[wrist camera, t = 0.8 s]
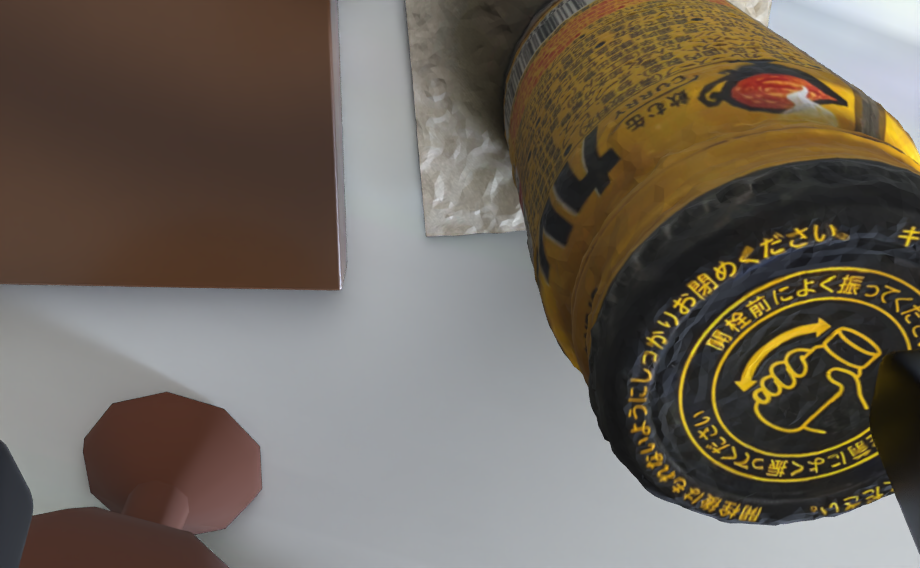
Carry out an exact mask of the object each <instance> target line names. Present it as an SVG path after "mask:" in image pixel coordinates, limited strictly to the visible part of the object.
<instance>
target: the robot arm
mask: <svg viewBox="0 0 920 568" xmlns="http://www.w3.org/2000/svg"><path fill="white" fill-rule="evenodd" d="M869 427H870V432H871V436H872V439H873V442H874V444H875V447H876V449H877V451H878V454H879V456H880V459H881V461H882V464H883V466H884V469H885V471H886V473H887V476H888V478H889V481H890V483H891V486H892V488H893V491H894V493H895V495H896V498H897V500H898V503H899V505H900V508H901V510H902V513H903V515H904V517H905V520H906V522H907V525H908V527H909V530H910V532H911V535H912V537H913V540H914V542H915V544H916V547H917V549H918V552H919V554H920V349H913V350H903V351H893V352H890V353H888V354H886V355H885V356H884V357H883V359H882V360H881V363H880V366H879V370H878V375H877V379H876V384H875V389H874V394H873V398H872V403H871V408H870V413H869ZM32 515H33V500H32V495H31V492H30V490H29V488H28V486H27V484H26V482H25V480H24V478H23V476H22V474H21V472H20V470H19V468H18V467H17V465H16V463H15V461H14V459H13V457H12V455H11V453H10V451H9V449H8V447H7V446H6V444H5V443H3V442H2V441H1V440H0V568H19V564H20V561H21V557H22V553H23V550H24V546H25V542H26V538H27V535H28V531H29V527H30V524H31V520H32Z"/></svg>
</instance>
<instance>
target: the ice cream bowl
mask: <svg viewBox="0 0 920 568" xmlns="http://www.w3.org/2000/svg"><path fill="white" fill-rule="evenodd" d="M83 454H84V460H85V465H86V471H87V476H88V481H89V487H90V492H91V493H92V494H93V495H94V496H95V497H96V498H97V499H98V500H100V501H101V502H102V503H103V504H104V505H105V506H106V507H107V508H109V509H110V510H111V511H109V510H105V509H101V508H98V507H85V508H71V509H64V510H59V511H54V512H49V513H44V514H39V515H34V516H32V520H31V524H30V527H29V531H28V535H27V538H26V542H25V546H24V550H23V553H22V557H21V561H20V564H19V568H229V567H228V566H227V565H226V564H225V563H224V562H223V561H221V560H220V559H219V558H218V557H217V556H216V555H215V554H214V553H213V552H212V551H211V550H210V549H208V548H207V547H206V546H205V545H204V544H203V543H202V542H201V541H200V540H199V539H198V538H197V537H195V536H194V535H195V534H200V533H205V532H211V531H216V530H221V529H225V528H226V527H227V526H228V525H229V524H230V523H231V522H232V521H233V520H234V519H235V518H236V517H237V516H238V515H239V514H240V513H241V512H242V511H243V510H244V509H245V508H246V507H247V506H248V504H249V503H250V502H251V501H252V500H253V499H254V498H255V497H256V495H257V494H258V493H259V492H260V490H261V489H262V479H261V459H260V446H259V445H258V444H257V443H256V442H255V441H254V440H253V439H252V438H251V437H250V436H249V435H248V434H247V433H246V432H245V430H244V429H243V428H242V427H241V426H240V425H239V424H238V423H237V422H236V421H235V420H234V419H233V418H232V417H231V416H230V415H229V414H228V413H227V412H226V411H225V410H224V409H222V408H219V407H216V406H212V405H209V404H206V403H202V402H199V401H196V400H192V399H189V398H185V397H182V396H179V395H175V394H172V393H169V392H164V393H159V394H155V395H150V396H145V397H141V398H136V399H131V400H127V401H122V402H117V403H113V404H112V405H111V406H110V407H109V408H108V410H107V411H106V412H105V413H104V415H103V416H102V417H101V418H100V420H99V421H98V422H97V423H96V425H95V426H94V427H93V428H92V430H91V431H90V432H89V433H88V434H87V436H86V437H85V438H84V448H83Z"/></svg>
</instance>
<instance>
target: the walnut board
mask: <svg viewBox="0 0 920 568" xmlns="http://www.w3.org/2000/svg"><path fill="white" fill-rule="evenodd" d="M346 266H347V244H346V217H345V189H344V162H343V135H342V107H341V80H340V53H339V25H338V0H0V284H18V285H72V286H125V287H179V288H232V289H286V290H341V289H342V286H343V281H344V276H345V271H346Z"/></svg>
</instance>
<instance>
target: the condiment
mask: <svg viewBox="0 0 920 568" xmlns="http://www.w3.org/2000/svg"><path fill="white" fill-rule="evenodd" d="M405 1H406V13H407V24H408V35H409V44H410V60H411V68H412V77H413V91H414V103H415V115H416V123H417V137H418V150H419V161H420V172H421V183H422V193H423V208H424V219H425V231H426V236H427V237H431V236H456V235H468V234H476V233H506V232H512V231H527V236H528V240H527V244H528V248H529V252H530V258H531V261H532V264H533V267H534V272H535V280H536V283H537V285H538V288H539V292H540V296H541V299H542V303H543V307H544V311H545V314H546V317H547V320H548V323H549V326H550V328H551V330H552V332H553V334H554V336H555V338H556V339H557V342H558V344H559V346H560V348H561V349H562V351H563V353H564V354H565V355H566V356H567V357H568V359H569V360H570V361H571V363H572V364H573V366H574V367H575V368H577V369H578V370H579V371H580V372H581V373H582V374H583V376H584V379H585V381H586V383H587V386H588V389H589V397H590V403H591V407H592V409H593V412H594V414H595V415H596V417H597V421H598V426H599V428H600V430H601V432H602V434H603V437H604V439H605V440H607V441H609V442H610V444H611V448H612V451H613V453H614V454H615V455H616V457H617V458H618V459H619V460H620V462H621V463H623V464H624V465H625V466H626V467H627V468H628V469H629V471H630V472H631V473H632V474H633V475H634V476H635V477H636V478H637V479H638V480H639V482H640V483H641V484H642V486H643V487H644V488H645V489H646V490H647V491H648V492H650V493H651V494H653V495H654V496H656V497H658V498H660V499H663V500H665V501H668V502H671V503H674V504H678V505H680V506H682V507H684V508H687V509H689V510H691V511H694V512H697V513H700V514H704V515H707V516H710V517H713V518H715V519H717V520H719V521H722V522H727V523H746V524H761V525H775V526H776V525H779V524H788V523H793V522H799V521H808V520H815V519H819V518H822V517H835V516H838V515H841V514H843V513H846V512H849V511H851V510H854V509H856V508H858V507H861V506H862V505H866V504H869V503H872V502H874V501H876V500H878V499H880V498H882V497H885V496H888V495H891V494H893V493H894V491H893V488H892V486H891V483H890V481H889V478H888V476H887V473H886V471H885V469H884V466H883V464H882V461H881V459H880V456H879V454H878V451H877V449H876V447H875V444H874V442H873V439H872V436H871V432H870V427H869V413H870V408H871V403H872V398H873V394H874V389H875V384H876V379H877V375H878V370H879V366H880V363H881V360H882V359H883V357H884V356H885V355H886V354H888V353H890V352H893V351H903V350H913V349H920V155H919V153H918V151H917V149H916V146H915V144H914V142H913V140H912V138H911V137H910V135H909V134H908V133H907V132H906V131H905V130H904V129H903V127H902V126H901V124H900V123H899V122H898V121H897V120H896V119H895V118H894V117H893V116H892V115H891V114H890V113H888V112H887V111H886V110H885V109H884V108H883V107H882V106H881V104H879V103H877V102H876V101H874V100H872V99H871V98H870V97H869V96H867V95H866V94H865V93H864V92H863V91H862V90H860V89H858V88H857V87H855V86H854V85H852V84H850V83H849V82H847V81H846V80H844V79H843V78H841V77H840V76H839V75H837V74H835V73H834V72H832V71H831V70H830V69H828V68H826V67H825V66H824V65H822V64H820V63H819V62H817V61H816V60H815V59H814V58H812V57H810V56H809V55H808V54H807V53H806V52H804V51H802V50H800V49H799V48H797V47H795V46H794V45H793V44H792V43H790V42H789V41H788V40H787V39H784V38H783V37H781V36H780V35H778V34H776V33H775V32H773V31H772V30H770V29H769V28H768V21H769V15H770V10H771V4H772V0H405Z"/></svg>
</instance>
